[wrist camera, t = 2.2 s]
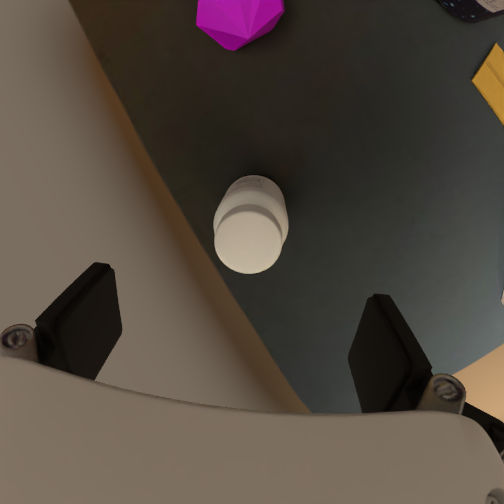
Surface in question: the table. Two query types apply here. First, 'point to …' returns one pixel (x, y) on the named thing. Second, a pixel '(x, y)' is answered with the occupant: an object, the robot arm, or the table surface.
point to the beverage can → (474, 9)
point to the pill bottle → (251, 225)
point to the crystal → (238, 20)
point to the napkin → (492, 80)
